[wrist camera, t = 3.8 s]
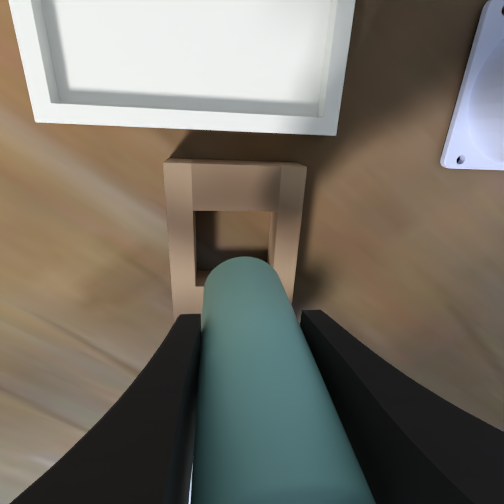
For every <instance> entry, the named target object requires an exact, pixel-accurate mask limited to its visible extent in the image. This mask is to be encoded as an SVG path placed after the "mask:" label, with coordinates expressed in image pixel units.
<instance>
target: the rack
mask: <svg viewBox="0 0 504 504" xmlns="http://www.w3.org/2000/svg"><path fill="white" fill-rule="evenodd" d="M163 170H164V184H165V199H166V213H167V227H168V242H169V256H170V270H171V284H172V299H173V313H174V323H175V321H176V319H177V317H178V316H179V315H180V314H201V325H202V309H203V292H204V285H205V282H206V279H207V277H208V276H209V274H210V273H211V271H212V270H210V271H197V251H196V219H195V211H271V214H270V228H269V242H268V256H267V263H268V264H269V265H271V266H272V267H273V268H274V269H275V271H276V272H277V274H278V275H279V278H280V280H281V282H282V285H283V287H284V289H285V292H286V294H287V296H288V299H289V301H290V303H291V306H292V297H293V289H294V280H295V271H296V262H297V253H298V244H299V235H300V227H301V218H302V209H303V200H304V191H305V182H306V173H307V167H306V166H304V165H302V164H299V163H297V162H272V161H241V160H211V159H180V158H168V159H167V160H166V161H164V162H163Z"/></svg>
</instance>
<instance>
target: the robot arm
mask: <svg viewBox="0 0 504 504" xmlns="http://www.w3.org/2000/svg"><path fill="white" fill-rule="evenodd" d="M503 7H504V0H489V1H487V3H486V4H485V5H484V7H483V10H482V13H481V17H480V20H479V24H478V27H477V31H476V34H475V38H474V42H473V45H472V49H471V52H470V56H469V60H468V63H467V67H466V70H465V74H464V77H463V81H462V85H461V88H460V92H459V95H458V99H457V102H456V106H455V110H454V113H453V117H452V120H451V124H450V127H449V131H448V135H447V138H446V142H445V145H444V149H443V152H442V156H441V161H440V162H441V165H442V166H443V167H445V168H454V169H485V170H504V14H503V15H502V13H501V12H502V8H503ZM459 156H460V160H459V162H456V161H457V158H458V157H459ZM300 327H301V329H302V331H303V334H304V336H305V339H306V341H307V343H308V346H309V348H310V350H311V353H312V355H313V357H314V360H315V362H316V364H317V367H318V369H319V371H320V374H321V376H322V378H323V381H324V383H325V385H326V388H327V390H328V392H329V395H330V397H331V399H332V402H333V404H334V406H335V409H336V411H337V413H338V416H339V418H340V420H341V423H342V425H343V428H344V430H345V432H346V435H347V437H348V439H349V442H350V444H351V446H352V449H353V451H354V453H355V456H356V458H357V460H358V463H359V465H360V467H361V470H362V472H363V474H364V477H365V479H366V481H367V484H368V486H369V488H370V491H371V493H372V495H373V498H374V500H375V502H376V504H504V432H503V431H501V430H499V429H497V428H495V427H493V426H491V425H490V424H488V423H486V422H484V421H482V420H480V419H478V418H477V417H475V416H473V415H471V414H469V413H467V412H465V411H464V410H462V409H460V408H458V407H457V406H455V405H453V404H451V403H450V402H448V401H446V400H444V399H443V398H441V397H440V396H438V395H436V394H435V393H433V392H431V391H430V390H428V389H427V388H425V387H423V386H422V385H420V384H418V383H417V382H415V381H414V380H412V379H411V378H409V377H408V376H406V375H405V374H403V373H402V372H401V371H399V370H398V369H396V368H395V367H393V366H392V365H391V364H389V363H388V362H386V361H385V360H384V359H382V358H381V357H380V356H378V355H377V354H375V353H374V352H373V351H372V350H370V349H369V348H368V347H366V346H365V345H364V344H362V343H361V342H360V341H359V340H357V339H356V338H355V337H354V336H352V335H351V334H350V333H349V332H347V331H346V330H345V329H344V328H343V327H341V326H340V325H339V324H338V323H336V322H335V321H334V320H333V319H332V318H330V317H329V316H328V315H327V314H325V313H324V312H323V311H321V310H302V315H301V322H300ZM200 347H201V314H180V315H179V316H178V317H177V319H176V321H175V323H174V324H173V326H172V328H171V330H170V331H169V333H168V335H167V336H166V338H165V339H164V341H163V342H162V344H161V345H160V347H159V348H158V350H157V351H156V352H155V354H154V355H153V357H152V358H151V360H150V361H149V362H148V364H147V365H146V366H145V368H144V369H143V370H142V371H141V373H140V374H139V375H138V376H137V378H136V379H135V380H134V382H133V383H132V384H131V385H130V387H129V388H128V389H127V390H126V391H125V393H124V394H123V395H122V396H121V397H120V398H119V400H118V401H117V402H116V403H115V404H114V405H113V406H112V407H111V408H110V410H109V411H108V412H107V413H106V414H105V415H104V416H103V417H102V418H101V419H100V420H99V421H98V422H97V423H96V424H95V425H94V426H93V427H92V428H91V429H90V430H89V431H88V432H87V433H86V434H85V435H84V436H83V437H82V438H81V439H80V440H79V441H78V442H77V443H76V444H75V445H74V446H73V447H72V448H71V449H70V450H69V451H68V452H67V453H66V454H65V455H64V456H63V457H62V458H61V459H60V460H59V461H58V462H56V463H55V464H54V465H53V466H52V467H51V468H50V469H49V470H48V471H47V472H45V473H44V474H43V475H42V476H41V477H40V478H39V479H37V480H36V481H35V482H34V483H33V484H32V485H30V486H29V487H28V488H27V489H26V490H25V491H24V492H22V493H21V494H20V495H19V496H18V497H17V498H16V499H14V500H13V501H12V502H11V503H10V504H188V502H189V490H190V479H191V471H192V463H193V456H194V440H195V424H196V407H197V391H198V374H199V360H200Z"/></svg>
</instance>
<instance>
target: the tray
mask: <svg viewBox="0 0 504 504" xmlns="http://www.w3.org/2000/svg"><path fill="white" fill-rule="evenodd" d="M9 4H10V9H11V13H12V18H13V23H14V27H15V32H16V36H17V41H18V45H19V50H20V54H21V59H22V63H23V68H24V73H25V77H26V82H27V86H28V91H29V95H30V100H31V104H32V109H33V113H34V118H35V122H43V123H65V124H87V125H109V126H131V127H153V128H176V129H198V130H220V131H242V132H264V133H286V134H308V135H331V136H336V132H337V125H338V119H339V112H340V105H341V98H342V91H343V84H344V77H345V70H346V63H347V56H348V49H349V42H350V35H351V28H352V21H353V14H354V7H355V0H9Z"/></svg>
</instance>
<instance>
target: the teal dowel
mask: <svg viewBox="0 0 504 504" xmlns="http://www.w3.org/2000/svg"><path fill="white" fill-rule="evenodd" d="M191 504H376V502H375V500H374V498H373V495H372V493H371V491H370V488H369V486H368V484H367V481H366V479H365V477H364V474H363V472H362V470H361V467H360V465H359V463H358V460H357V458H356V456H355V453H354V451H353V449H352V446H351V444H350V442H349V439H348V437H347V435H346V432H345V430H344V428H343V425H342V423H341V420H340V418H339V416H338V413H337V411H336V409H335V406H334V404H333V402H332V399H331V397H330V395H329V392H328V390H327V388H326V385H325V383H324V381H323V378H322V376H321V374H320V371H319V369H318V367H317V364H316V362H315V360H314V357H313V355H312V353H311V350H310V348H309V346H308V343H307V341H306V339H305V336H304V334H303V331H302V329H301V327H300V324H299V322H298V320H297V317H296V315H295V313H294V310H293V308H292V306H291V303H290V301H289V299H288V296H287V294H286V292H285V289H284V287H283V285H282V282H281V280H280V278H279V275H278V274H277V272H276V271H275V269H274V268H273V267H272V266H271V265H269V264H268V263H266V262H265V261H263V260H261V259H258V258H254V257H245V256H244V257H236V258H232V259H229V260H226V261H224V262H222V263H221V264H219V265H218V266H217V267H215V268H214V269H213V270H212V271H211V273H210V274H209V276H208V277H207V279H206V282H205V285H204V292H203V309H202V325H201V347H200V360H199V374H198V391H197V407H196V424H195V440H194V457H193V473H192V490H191Z"/></svg>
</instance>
